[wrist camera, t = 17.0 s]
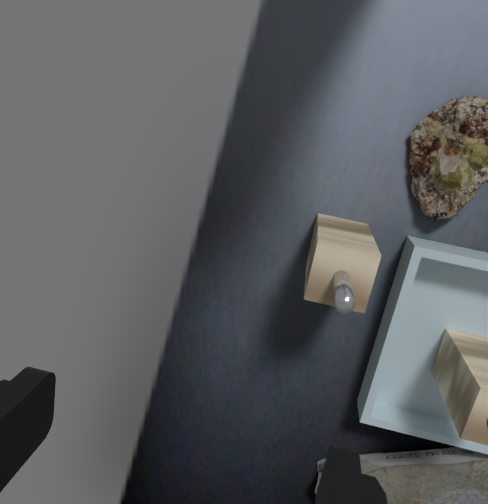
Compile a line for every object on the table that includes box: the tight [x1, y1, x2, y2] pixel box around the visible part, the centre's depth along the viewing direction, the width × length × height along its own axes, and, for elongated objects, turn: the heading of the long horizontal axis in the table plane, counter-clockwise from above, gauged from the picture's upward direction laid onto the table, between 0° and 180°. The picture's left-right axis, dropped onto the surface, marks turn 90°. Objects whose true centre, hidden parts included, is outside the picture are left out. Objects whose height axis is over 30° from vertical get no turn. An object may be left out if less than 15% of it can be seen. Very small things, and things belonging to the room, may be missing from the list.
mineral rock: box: [409, 96, 488, 221], centre depth 39 cm, size 11×4×8 cm
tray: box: [357, 236, 488, 454], centre depth 43 cm, size 18×16×4 cm
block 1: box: [304, 213, 381, 314], centre depth 37 cm, size 5×5×15 cm
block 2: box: [431, 328, 488, 446], centre depth 39 cm, size 5×5×10 cm
